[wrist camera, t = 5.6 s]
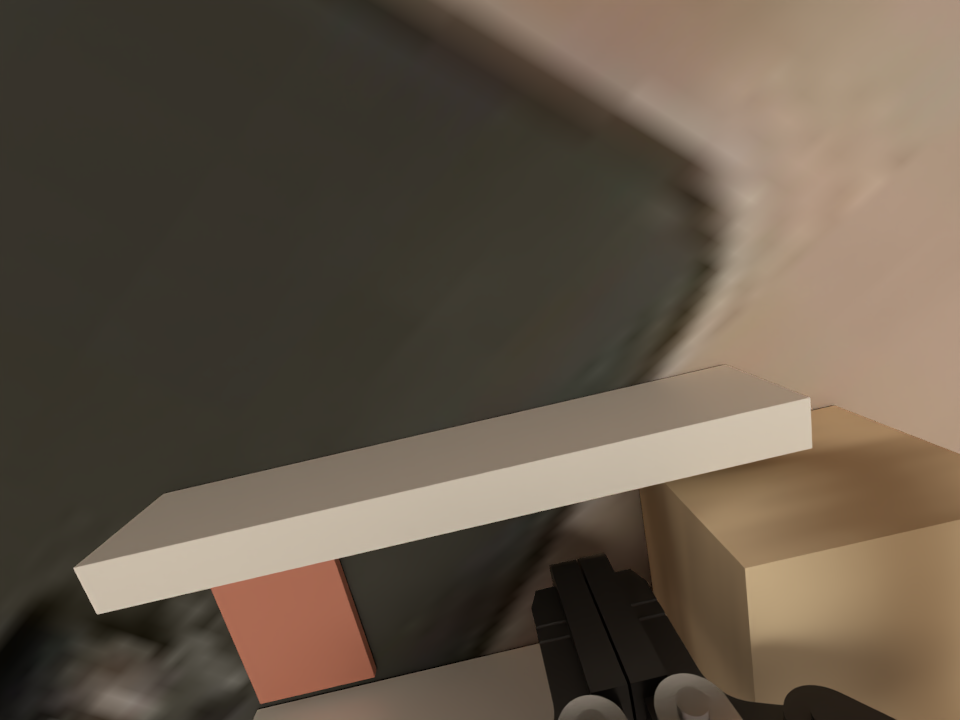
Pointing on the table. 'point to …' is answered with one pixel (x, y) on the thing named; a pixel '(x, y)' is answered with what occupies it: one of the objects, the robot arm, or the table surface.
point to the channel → (421, 533)
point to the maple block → (819, 569)
